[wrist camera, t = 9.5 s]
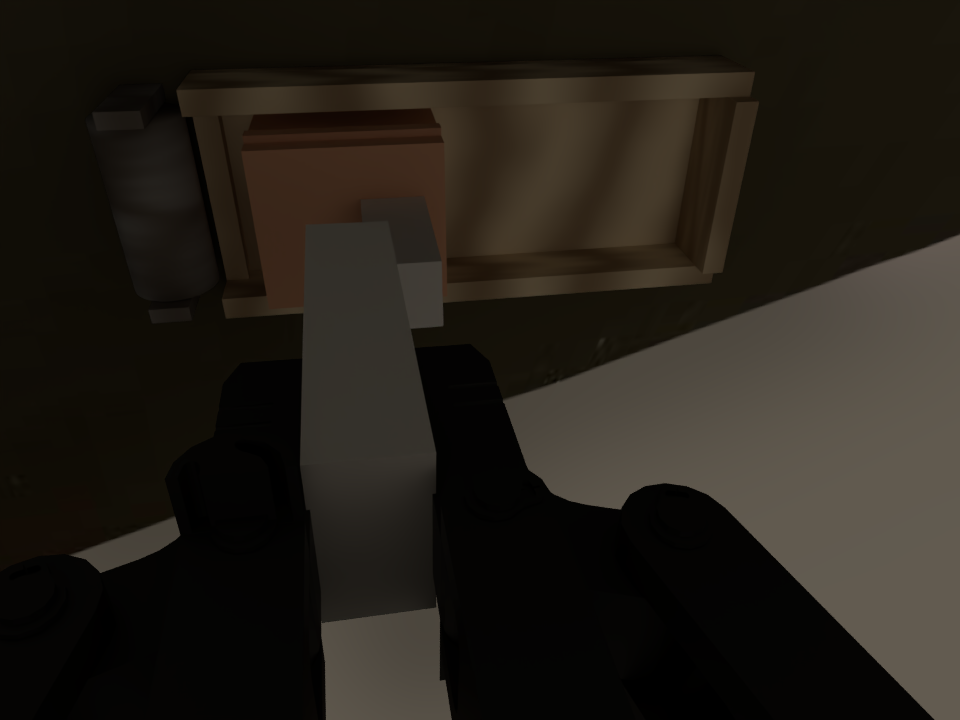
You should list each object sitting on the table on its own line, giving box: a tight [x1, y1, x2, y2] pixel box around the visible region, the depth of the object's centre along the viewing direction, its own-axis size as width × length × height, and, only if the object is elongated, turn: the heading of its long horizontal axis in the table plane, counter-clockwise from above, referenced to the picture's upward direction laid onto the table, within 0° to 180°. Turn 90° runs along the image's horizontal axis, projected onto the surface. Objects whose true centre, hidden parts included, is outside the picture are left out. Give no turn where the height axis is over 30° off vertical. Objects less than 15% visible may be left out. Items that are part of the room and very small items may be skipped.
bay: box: [85, 55, 759, 323], centre depth 39 cm, size 33×12×5 cm, turn 90°
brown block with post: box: [241, 108, 447, 329], centre depth 34 cm, size 9×9×13 cm
